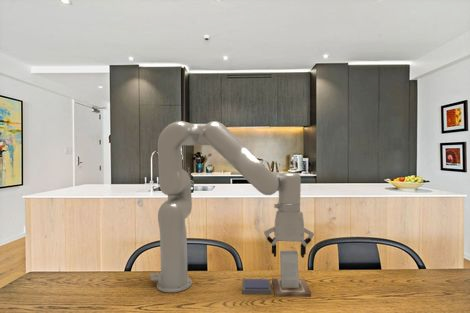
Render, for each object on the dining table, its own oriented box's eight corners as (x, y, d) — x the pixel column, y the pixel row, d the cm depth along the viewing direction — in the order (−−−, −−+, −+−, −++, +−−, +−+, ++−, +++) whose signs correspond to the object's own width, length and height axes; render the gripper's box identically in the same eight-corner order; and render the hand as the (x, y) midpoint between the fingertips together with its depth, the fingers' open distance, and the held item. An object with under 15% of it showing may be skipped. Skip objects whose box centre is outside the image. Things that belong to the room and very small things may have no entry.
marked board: (274, 296, 105) (274, 292, 104) (272, 281, 117) (272, 277, 116) (311, 296, 104) (311, 292, 104) (304, 281, 116) (304, 277, 116)
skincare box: (297, 283, 112) (297, 250, 112) (299, 288, 108) (298, 254, 108) (280, 282, 113) (279, 250, 112) (281, 288, 108) (280, 254, 108)
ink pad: (242, 294, 107) (242, 288, 107) (242, 282, 116) (242, 277, 116) (271, 294, 106) (271, 289, 106) (269, 282, 115) (269, 278, 115)
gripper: (265, 209, 106) (264, 259, 107) (316, 210, 105) (315, 260, 106) (264, 205, 114) (263, 251, 114) (312, 206, 113) (311, 253, 113)
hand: (288, 255), depth 110 cm, fingers open, 9 cm apart
